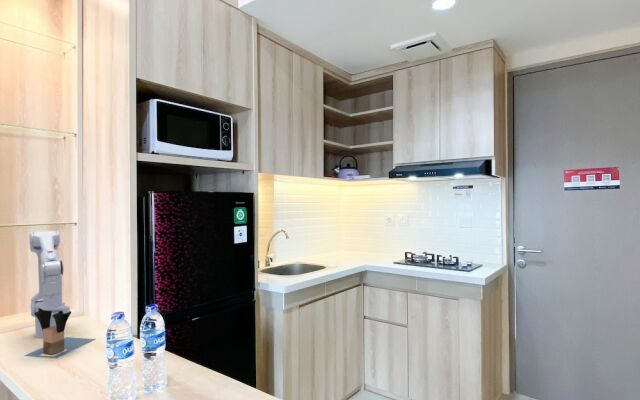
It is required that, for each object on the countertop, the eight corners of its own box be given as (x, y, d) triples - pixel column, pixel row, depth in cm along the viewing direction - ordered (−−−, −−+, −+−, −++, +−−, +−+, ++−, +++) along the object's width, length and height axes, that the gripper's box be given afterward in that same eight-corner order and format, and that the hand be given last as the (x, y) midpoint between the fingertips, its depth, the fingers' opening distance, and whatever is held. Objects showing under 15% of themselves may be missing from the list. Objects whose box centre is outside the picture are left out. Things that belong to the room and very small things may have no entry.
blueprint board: (66, 339, 152) (66, 336, 152) (96, 341, 150) (96, 338, 150) (23, 358, 134) (23, 355, 134) (57, 360, 132) (57, 358, 132)
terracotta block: (55, 337, 140) (55, 325, 140) (64, 338, 138) (63, 326, 138) (43, 341, 135) (42, 329, 135) (52, 343, 134) (51, 330, 134)
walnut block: (43, 354, 135) (43, 341, 135) (55, 349, 140) (55, 337, 140) (52, 355, 134) (52, 343, 134) (64, 350, 138) (64, 338, 138)
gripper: (77, 292, 138) (78, 329, 138) (49, 289, 143) (50, 325, 143) (58, 297, 131) (59, 335, 132) (29, 294, 136) (30, 331, 136)
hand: (53, 330), depth 137 cm, fingers open, 7 cm apart
